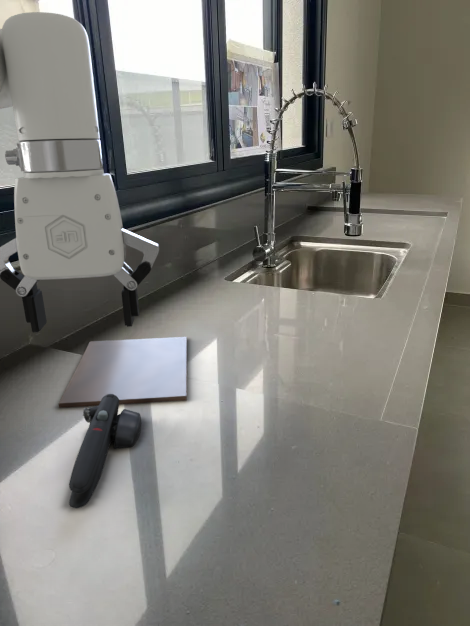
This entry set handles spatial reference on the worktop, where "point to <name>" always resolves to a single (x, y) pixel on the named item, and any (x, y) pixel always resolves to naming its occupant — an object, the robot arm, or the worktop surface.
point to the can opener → (101, 445)
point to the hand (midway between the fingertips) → (85, 325)
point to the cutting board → (129, 372)
